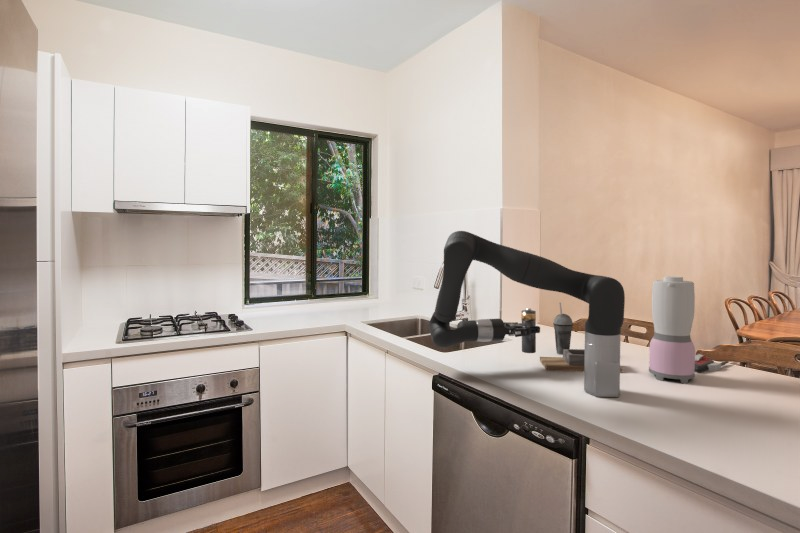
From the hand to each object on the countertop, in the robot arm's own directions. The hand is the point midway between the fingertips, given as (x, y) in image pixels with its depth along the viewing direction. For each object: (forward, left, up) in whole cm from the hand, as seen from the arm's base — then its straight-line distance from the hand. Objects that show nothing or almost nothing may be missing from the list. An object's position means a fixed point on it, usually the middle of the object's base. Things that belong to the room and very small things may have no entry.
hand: (535, 328), depth 144 cm
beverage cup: (+21, -14, -14) cm, 29 cm away
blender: (-5, -41, -14) cm, 44 cm away
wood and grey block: (+3, -15, -14) cm, 21 cm away
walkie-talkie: (+7, -57, -15) cm, 60 cm away
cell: (-1, +2, -8) cm, 8 cm away
